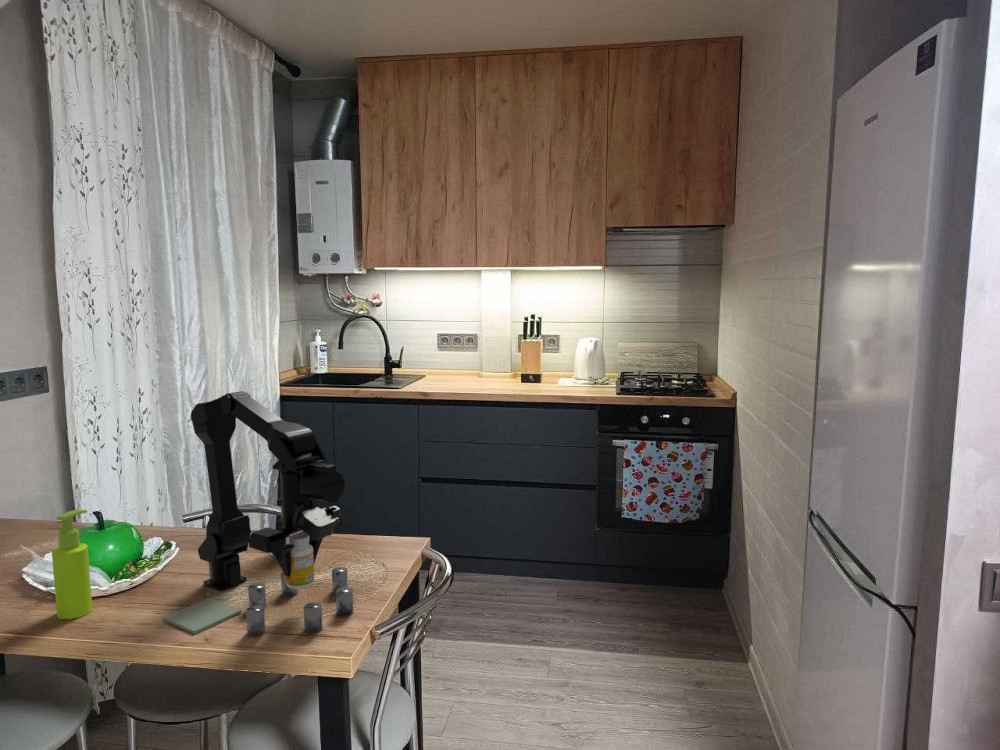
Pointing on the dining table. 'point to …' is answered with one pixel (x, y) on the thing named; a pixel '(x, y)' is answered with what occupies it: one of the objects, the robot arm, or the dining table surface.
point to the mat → (202, 615)
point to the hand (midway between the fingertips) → (299, 570)
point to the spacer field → (311, 610)
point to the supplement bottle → (301, 562)
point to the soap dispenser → (71, 571)
